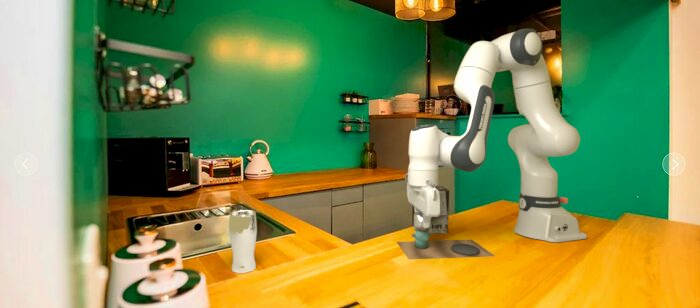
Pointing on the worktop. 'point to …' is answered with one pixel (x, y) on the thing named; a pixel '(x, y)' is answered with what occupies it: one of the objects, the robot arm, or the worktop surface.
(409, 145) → the robot arm
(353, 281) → the worktop surface
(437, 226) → the coffee box
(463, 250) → the pad
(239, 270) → the beer glass
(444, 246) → the base board
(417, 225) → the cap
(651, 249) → the worktop surface
